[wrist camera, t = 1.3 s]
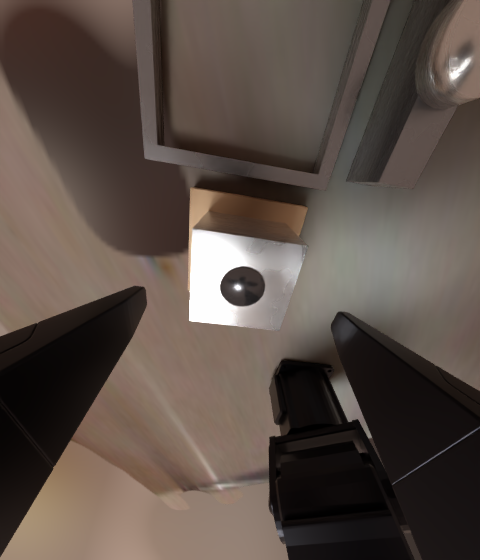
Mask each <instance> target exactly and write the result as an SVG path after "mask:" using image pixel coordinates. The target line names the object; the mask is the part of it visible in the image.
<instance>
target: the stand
mask: <svg viewBox="0 0 480 560" xmlns="http://www.w3.org/2000/svg"><path fill="white" fill-rule="evenodd" d="M307 210H308V207H305V206H303V205H298V204H292V203H286V202H280V201H274V200H268V199H262V198H256V197H250V196H244V195H239V194H233V193H227V192H221V191H215V190H209V189H203V188H197V187H192V188H190V225H189V265H188V291H190V287H191V256H192V228H193V227H194V226H195V225H196V224H197V223H198V222H199V221H200V219H201V218H202V217H203V216H204V215H205V214H206V213H207V212H208V211H212V212H218V213H224V214H231V215H237V216H243V217H249V218H255V219H262V220H268V221H274V222H280V223H286V224H287V225H288V226H289V227H290V228H291V229H292V230H293V231H294V232H295V233H296V234H297V235H298V236H299V235H300V232H301V229H302V226H303V223H304V219H305V216H306V213H307Z"/></svg>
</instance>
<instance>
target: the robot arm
mask: <svg viewBox="0 0 480 560" xmlns="http://www.w3.org/2000/svg"><path fill="white" fill-rule="evenodd" d="M146 306H147V298H146V290H145V288H144V287H141V286H133V287H130V288H127V289H125V290H122V291H119V292H117V293H114V294H111V295H109V296H106V297H104V298H101V299H98V300H96V301H93V302H90V303H88V304H85V305H82V306H80V307H77V308H75V309H72V310H69V311H67V312H64V313H61V314H59V315H56V316H53V317H51V318H48V319H46V320H43V321H40V322H39V323H38V324H37V323H35V324H32V325H30V326H27V327H24V328H22V329H19V330H16V331H14V332H11V333H8V334H6V335H3V336H0V557H1V555H2V553H3V552H4V550H5V548H6V547H7V545H8V543H9V542H10V540H11V538H12V537H13V535H14V533H15V532H16V530H17V528H18V527H19V525H20V523H21V522H22V520H23V518H24V517H25V515H26V514H27V512H28V510H29V509H30V507H31V505H32V503H33V502H34V500H35V498H36V497H37V495H38V494H39V492H40V490H41V489H42V487H43V485H44V483H45V482H46V480H47V479H48V477H49V475H50V474H51V472H52V470H53V467H54V466H55V465H56V463H57V462H58V460H59V458H60V457H61V455H62V453H63V452H64V450H65V448H66V447H67V445H68V443H69V442H70V440H71V438H72V437H73V435H74V433H75V432H76V430H77V428H78V427H79V425H80V423H81V422H82V420H83V418H84V417H85V415H86V413H87V412H88V410H89V408H90V407H91V405H92V403H93V402H94V400H95V398H96V397H97V395H98V393H99V392H100V390H101V388H102V387H103V385H104V383H105V382H106V380H107V378H108V377H109V375H110V374H111V372H112V370H113V369H114V367H115V365H116V364H117V362H118V360H119V359H120V357H121V355H122V354H123V352H124V350H125V349H126V347H127V345H128V344H129V342H130V340H131V338H132V337H133V335H134V333H135V330H136V328H137V326H138V324H139V322H140V319H141V317H142V315H143V313H144V311H145V308H146ZM331 331H332V334H333V337H334V341H335V344H336V348H337V351H338V354H339V357H340V360H341V363H342V365H343V368H344V370H345V372H346V375H347V377H348V380H349V382H350V385H351V387H352V390H353V392H354V394H355V397H356V399H357V402H358V404H359V407H360V409H361V411H362V414H363V416H364V419H365V421H366V424H367V426H368V428H369V431H370V433H371V436H372V438H373V440H374V443H375V446H376V448H377V450H378V452H379V455H380V458H381V460H382V463H383V465H384V467H385V469H384V467H383V465H382V463H381V462H380V459H379V458H378V456H377V454H376V452H375V450H374V448H373V446H372V445H371V443H370V441H369V439H368V437H367V435H366V433H365V431H364V430H363V428H362V426H361V424H360V422H359V420H358V419H356V420H352V422H348V420H347V418H346V416H345V413H344V411H343V409H342V407H341V405H340V402H339V400H338V398H337V396H336V393H335V391H334V389H333V387H332V384H331V382H330V380H329V378H330V377H331V375H332V373H333V372H334V369H333V367H332V366H330V365H320V364H311V363H301V362H291V361H282V362H281V363H280V365H279V367H278V370H277V372H276V374H275V375H274V377H273V379H272V382H271V384H270V387H269V389H270V390H269V392H270V396H271V403H272V410H273V417H274V422H275V424H276V425H279V426H280V432H281V436H278V437H275V436H272V437H270V446H269V485H270V492H269V510H270V512H271V514H272V515H273V516H274V520H275V524H276V528H277V532H278V535H279V538H280V540H281V542H282V543H283V544H286V548H287V553H288V558H289V560H414V557H413V555H412V552H411V550H410V548H409V546H408V543H407V541H406V539H405V536H404V534H403V533H412V536H413V538H414V541H415V543H416V546H417V548H418V550H419V553H420V555H421V558H422V560H480V391H479V390H477V389H475V388H473V387H472V386H470V385H468V384H466V383H465V382H463V381H461V380H460V379H458V378H456V377H454V376H453V375H451V374H449V373H448V372H446V371H444V370H443V369H441V368H439V367H438V366H435V365H434V364H433V363H431V362H429V361H428V360H426V359H424V358H423V357H421V356H419V355H418V354H416V353H414V352H413V351H411V350H409V349H408V348H406V347H404V346H403V345H401V344H399V343H398V342H396V341H394V340H393V339H391V338H389V337H388V336H386V335H384V334H383V333H381V332H379V331H378V330H376V329H374V328H373V327H371V326H370V325H368V324H366V323H365V322H363V321H361V320H360V319H358V318H356V317H355V316H353V315H351V314H350V313H347V312H338V313H337V314H336V316H335V318H334V320H333V322H332V324H331ZM360 449H361V450H362V452H363V453H359V452H358V450H360ZM385 470H386V471H385ZM386 472H387V473H386Z"/></svg>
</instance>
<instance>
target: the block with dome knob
mask: <svg viewBox="0 0 480 560" xmlns="http://www.w3.org/2000/svg"><path fill="white" fill-rule="evenodd" d="M307 248H308V245H307V244H306V243H305V242H304V241H303V240H302V239H301V238H300V237H299V236H298V235H297V234H296V233H295V232H294V231H293V230H292V229H291V228H290V227H289V226H288V225H287V224H286V223H280V222H274V221H268V220H262V219H255V218H249V217H243V216H237V215H231V214H224V213H218V212H212V211H208V212H207V213H206V214H205V215H204V216H203V217H202V218H201V219H200V221H199V222H198V223H197V224H196V225H195V226H194V227H193V228H192V256H191V287H190V318H189V321H198V322H206V323H215V324H224V325H233V326H241V327H250V328H259V329H268V330H277V331H279V330H280V327H281V324H282V321H283V318H284V315H285V312H286V310H287V307H288V304H289V301H290V298H291V295H292V292H293V289H294V286H295V283H296V280H297V278H298V275H299V272H300V269H301V266H302V263H303V260H304V257H305V254H306V251H307Z"/></svg>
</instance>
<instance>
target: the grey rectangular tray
mask: <svg viewBox="0 0 480 560" xmlns="http://www.w3.org/2000/svg"><path fill="white" fill-rule="evenodd" d="M389 3H390V0H364V1H363V5H362V8H361V12H360V15H359V18H358V22H357V25H356V28H355V32H354V35H353V38H352V42H351V45H350V49H349V52H348V55H347V59H346V62H345V65H344V69H343V72H342V75H341V79H340V82H339V86H338V89H337V92H336V96H335V99H334V102H333V106H332V109H331V113H330V116H329V119H328V123H327V126H326V129H325V133H324V136H323V139H322V143H321V146H320V150H319V153H318V156H317V160H316V163H315V166H314V170H313V173H307V172H301V171H296V170H290V169H285V168H279V167H274V166H269V165H263V164H258V163H252V162H247V161H241V160H236V159H231V158H225V157H220V156H214V155H209V154H203V153H198V152H193V151H187V150H182V149H176V148H171V147H165V146H164V123H163V92H162V62H161V32H160V1H159V0H133V13H134V26H135V39H136V53H137V66H138V78H139V92H140V104H141V118H142V130H143V144H144V157H145V159H150V160H157V161H162V162H167V163H173V164H178V165H184V166H190V167H195V168H201V169H206V170H212V171H218V172H223V173H229V174H235V175H240V176H246V177H251V178H257V179H263V180H268V181H274V182H280V183H285V184H291V185H296V186H302V187H308V188H313V189H319V190H325V191H326V188H327V185H328V183H329V180H330V177H331V174H332V171H333V168H334V165H335V162H336V159H337V156H338V153H339V150H340V147H341V144H342V141H343V138H344V135H345V133H346V130H347V127H348V124H349V121H350V118H351V115H352V112H353V109H354V106H355V103H356V100H357V97H358V94H359V91H360V88H361V85H362V83H363V80H364V77H365V74H366V71H367V68H368V65H369V62H370V59H371V56H372V53H373V50H374V47H375V44H376V41H377V38H378V36H379V33H380V30H381V27H382V24H383V21H384V18H385V15H386V12H387V9H388V6H389ZM479 98H480V0H415V1H414V4H413V6H412V9H411V11H410V14H409V17H408V19H407V22H406V25H405V27H404V30H403V33H402V35H401V38H400V40H399V43H398V46H397V48H396V51H395V54H394V56H393V59H392V62H391V64H390V67H389V69H388V72H387V75H386V77H385V80H384V83H383V85H382V88H381V91H380V93H379V96H378V98H377V101H376V104H375V106H374V109H373V112H372V114H371V117H370V120H369V122H368V125H367V127H366V130H365V133H364V135H363V138H362V141H361V143H360V146H359V149H358V151H357V154H356V156H355V159H354V162H353V164H352V167H351V170H350V172H349V175H348V178H347V180H346V181H348V182H354V183H359V184H365V185H370V186H380V187H394V188H408V189H413V188H414V186H415V184H416V182H417V180H418V178H419V177H420V175H421V173H422V171H423V169H424V167H425V165H426V164H427V162H428V160H429V158H430V156H431V154H432V152H433V151H434V149H435V147H436V145H437V143H438V141H439V140H440V138H441V136H442V134H443V132H444V130H445V128H446V127H447V125H448V123H449V121H450V119H451V117H452V116H453V114H454V112H455V110H456V108H457V106H458V105H460V104H463V103H466V102H470V101H473V100H476V99H479Z"/></svg>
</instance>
